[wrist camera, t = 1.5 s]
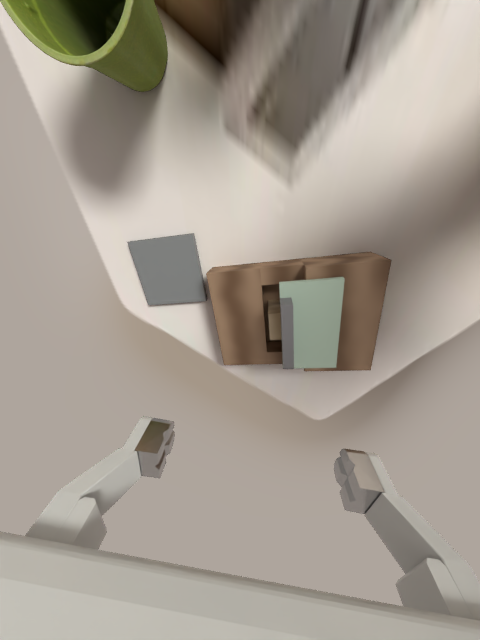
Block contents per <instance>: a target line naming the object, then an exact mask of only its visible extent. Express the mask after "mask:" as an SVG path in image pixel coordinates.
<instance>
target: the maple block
mask: <svg viewBox="0 0 480 640" xmlns="http://www.w3.org/2000/svg"><path fill="white" fill-rule="evenodd" d="M268 318H269V332H270V340H282V339H281V315H280V299H277V300H268Z"/></svg>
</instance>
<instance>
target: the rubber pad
mask: <svg viewBox="0 0 480 640" xmlns="http://www.w3.org/2000/svg"><path fill="white" fill-rule="evenodd" d="M128 245H129V248H130V251H131V254H132V257H133V260H134V263H135V266H136V269H137V272H138V275H139V278H140V281H141V284H142V287H143V290H144V293H145V296H146V299H147V302H148V305H158V304H172V303H186V302H200V301H207V295H206V290H205V285H204V280H203V275H202V271H201V266H200V261H199V256H198V251H197V246H196V241H195V236H194V233H192V234H185V235H177V236H169V237H161V238H153V239H146V240H138V241H130V242H128Z"/></svg>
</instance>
